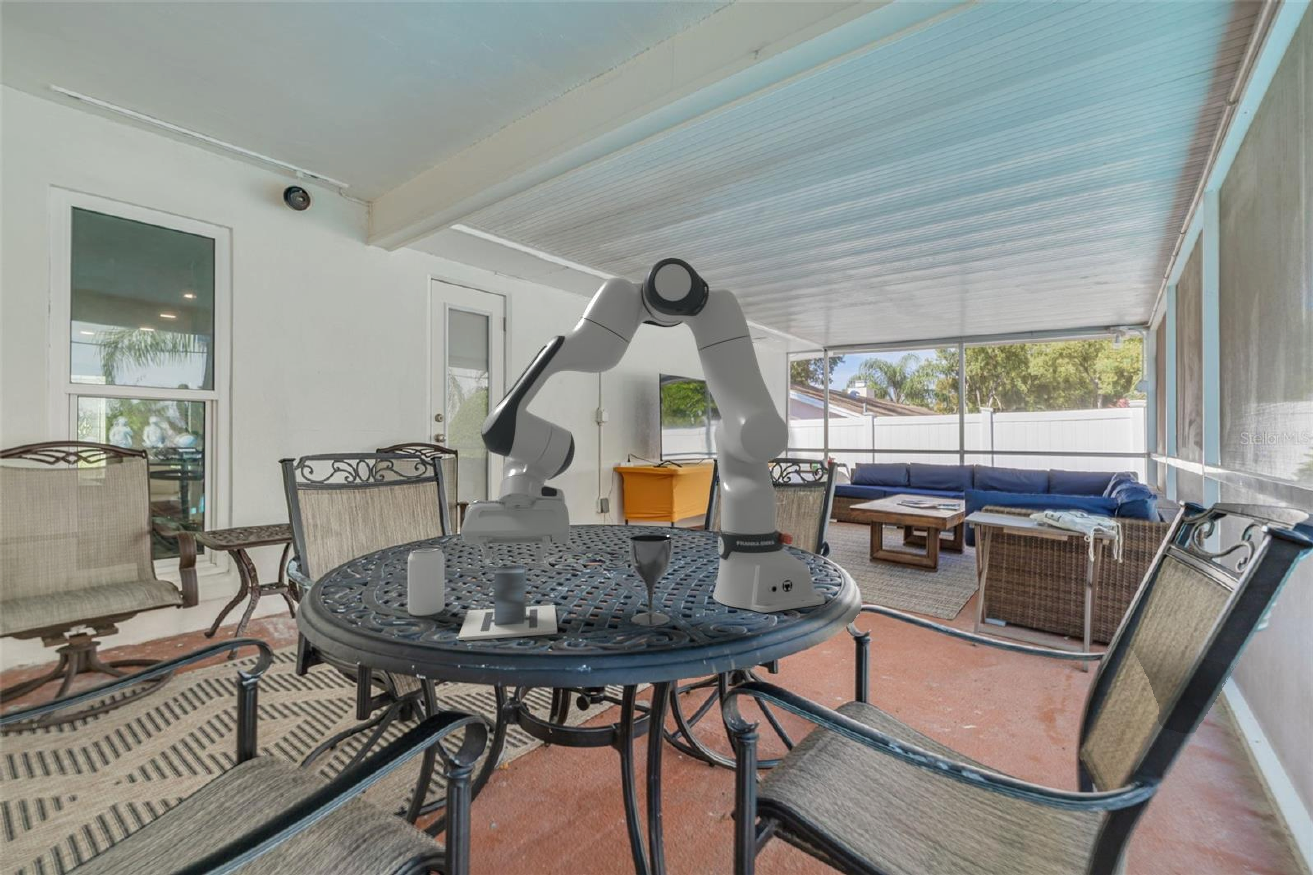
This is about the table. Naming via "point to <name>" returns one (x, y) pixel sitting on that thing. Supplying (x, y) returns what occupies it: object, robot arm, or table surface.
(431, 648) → the table surface
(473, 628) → the letter board
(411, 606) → the can
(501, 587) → the slate block
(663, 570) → the wine glass
